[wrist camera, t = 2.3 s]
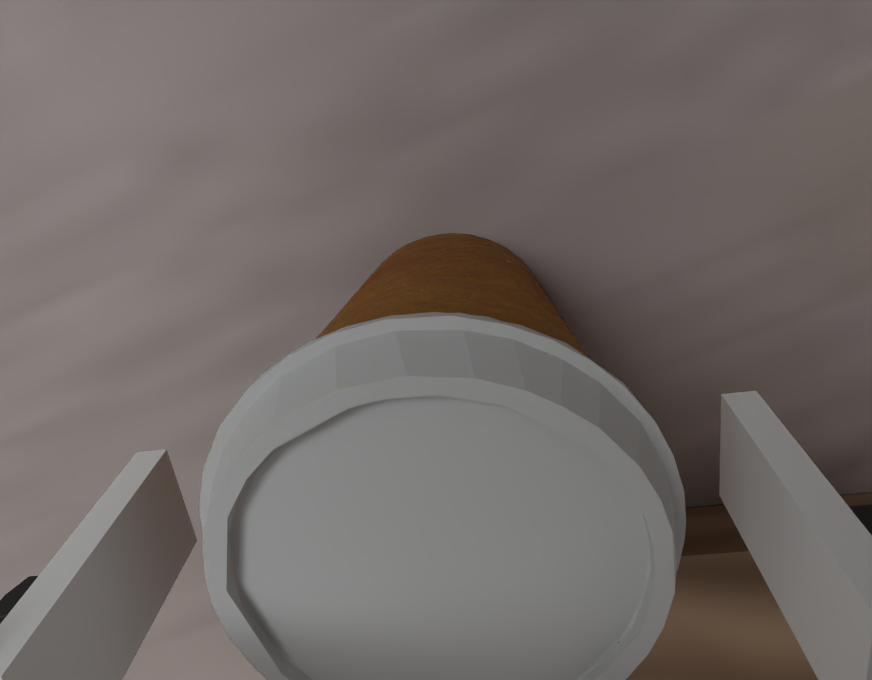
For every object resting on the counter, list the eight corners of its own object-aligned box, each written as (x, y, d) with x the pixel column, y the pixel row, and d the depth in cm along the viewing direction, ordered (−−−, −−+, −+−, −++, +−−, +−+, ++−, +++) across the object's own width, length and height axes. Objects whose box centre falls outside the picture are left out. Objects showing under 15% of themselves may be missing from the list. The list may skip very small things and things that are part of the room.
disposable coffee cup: (322, 159, 22) (170, 305, 11) (629, 206, 22) (784, 396, 11) (303, 423, 26) (177, 724, 15) (562, 461, 26) (628, 788, 15)
